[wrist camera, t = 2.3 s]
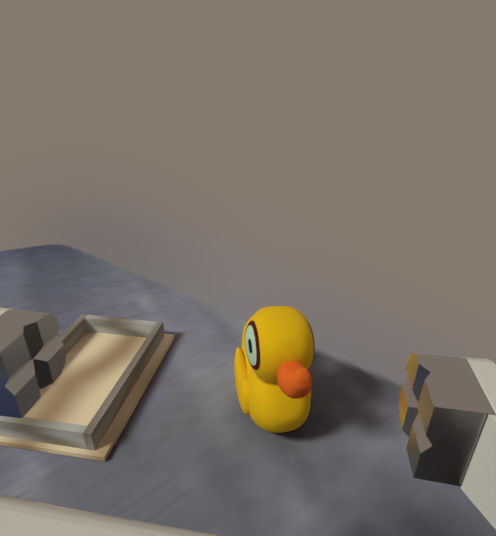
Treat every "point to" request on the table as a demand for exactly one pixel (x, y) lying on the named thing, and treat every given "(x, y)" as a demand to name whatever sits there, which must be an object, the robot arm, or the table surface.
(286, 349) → the duckling
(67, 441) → the shallow wooden tray
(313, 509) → the table surface
